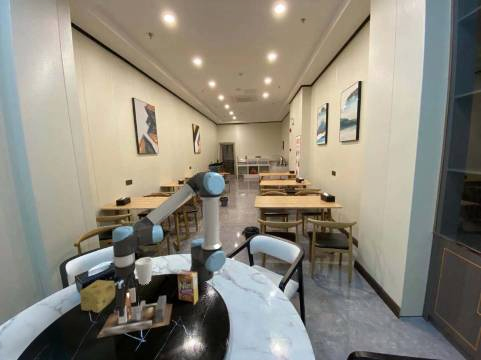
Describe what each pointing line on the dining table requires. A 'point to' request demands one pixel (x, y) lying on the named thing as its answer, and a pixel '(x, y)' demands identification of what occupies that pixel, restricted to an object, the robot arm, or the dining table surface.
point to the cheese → (97, 295)
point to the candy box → (188, 286)
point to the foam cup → (144, 270)
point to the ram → (133, 311)
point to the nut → (150, 312)
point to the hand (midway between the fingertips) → (128, 311)
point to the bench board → (157, 320)
